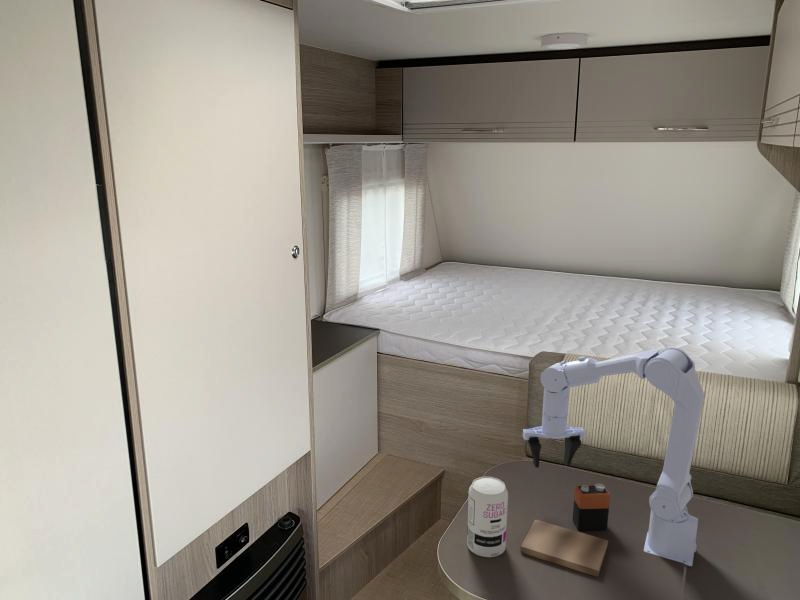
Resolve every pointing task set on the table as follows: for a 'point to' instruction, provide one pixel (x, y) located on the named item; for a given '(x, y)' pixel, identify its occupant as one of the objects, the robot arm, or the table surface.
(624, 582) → the table surface
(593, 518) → the battery
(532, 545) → the wooden flat block
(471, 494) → the supplement can
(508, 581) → the table surface
